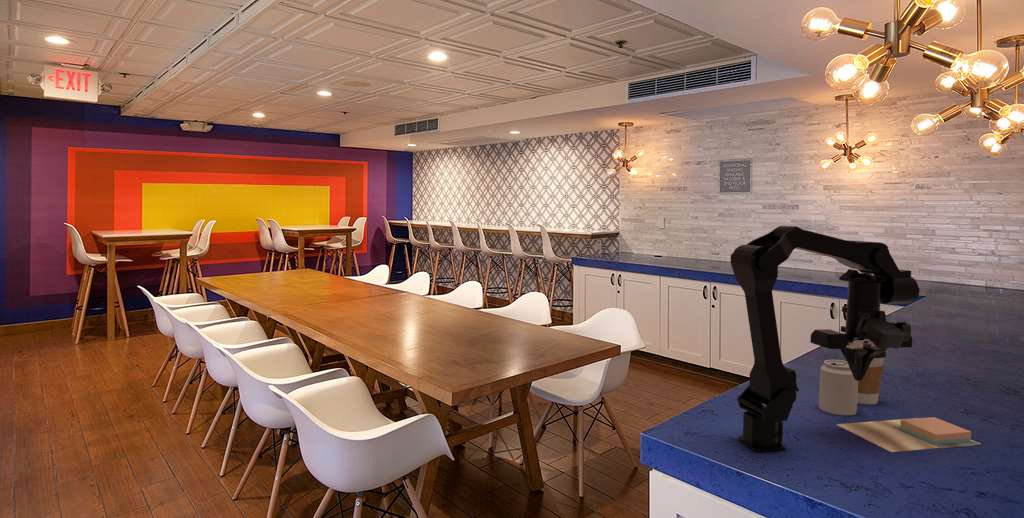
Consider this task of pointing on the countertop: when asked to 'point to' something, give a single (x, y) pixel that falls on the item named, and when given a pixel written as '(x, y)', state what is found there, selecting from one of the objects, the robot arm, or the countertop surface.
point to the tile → (935, 430)
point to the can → (837, 388)
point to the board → (895, 436)
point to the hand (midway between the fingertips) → (858, 380)
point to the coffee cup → (871, 381)
